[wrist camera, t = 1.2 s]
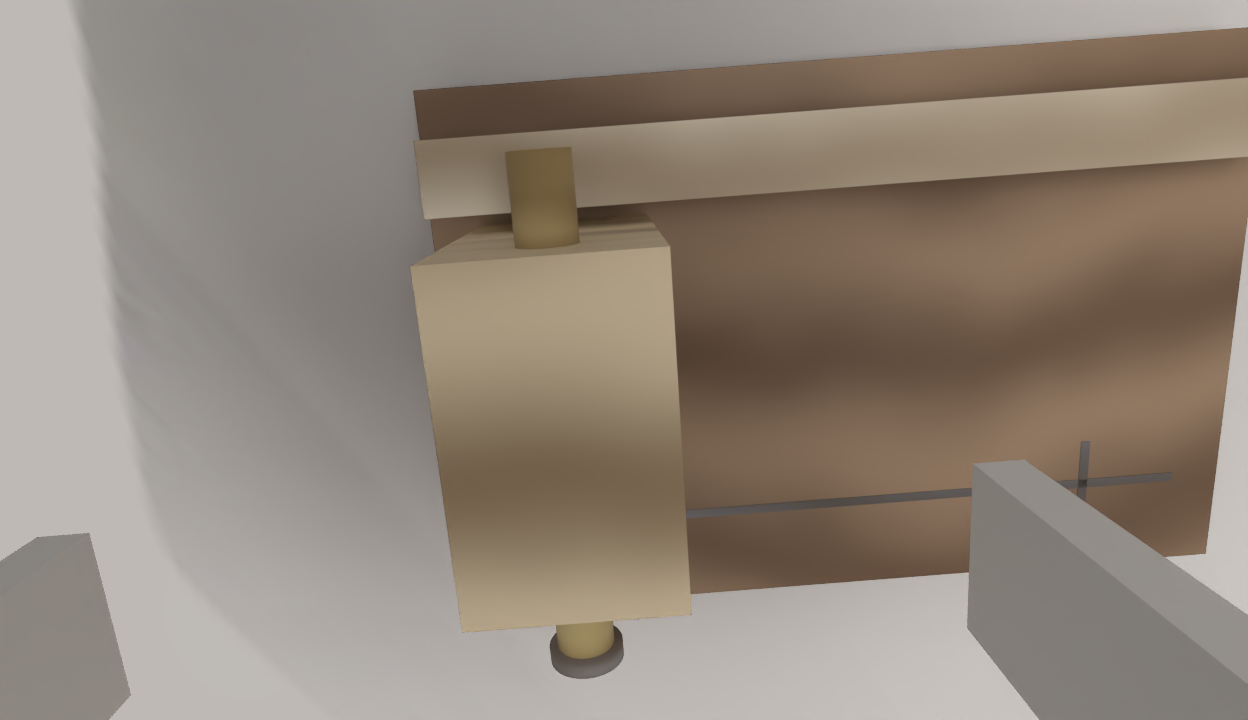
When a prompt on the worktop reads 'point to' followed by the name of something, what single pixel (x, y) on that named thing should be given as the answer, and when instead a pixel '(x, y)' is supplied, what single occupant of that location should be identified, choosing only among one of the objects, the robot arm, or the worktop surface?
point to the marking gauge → (557, 418)
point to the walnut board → (910, 280)
